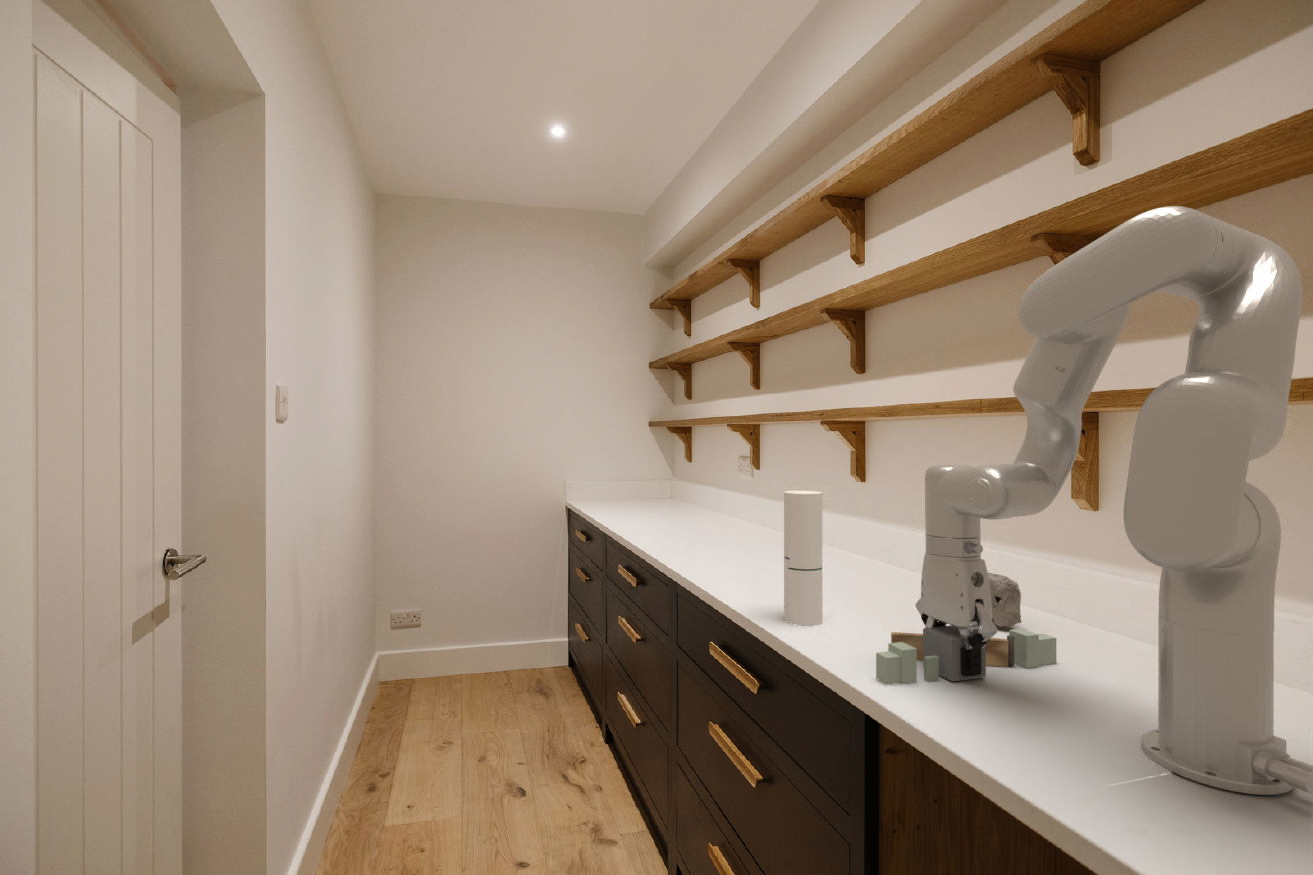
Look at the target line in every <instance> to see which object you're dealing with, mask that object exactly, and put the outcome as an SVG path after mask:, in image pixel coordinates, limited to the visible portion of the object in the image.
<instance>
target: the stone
mask: <svg viewBox="0 0 1313 875" xmlns="http://www.w3.org/2000/svg"><path fill="white" fill-rule="evenodd" d="M988 577H989V583H990V591H991V603H992V620H994V621H993V623H994V624H995V626H999V627H1009V626H1010V627H1011V626H1012V627H1014V626H1015V625H1017V624H1021V623H1022V615H1021V602H1022V601H1021V600H1022V594H1021V593H1022V592H1021V590H1020V587H1019V586H1020V585H1019V584H1018V583H1017V581H1014V580H1013V579H1011V578H1010V577H1008V576H1006V575H1002V574H999V573H992V572H988Z"/></svg>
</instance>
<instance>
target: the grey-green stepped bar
mask: <svg viewBox="0 0 1313 875" xmlns="http://www.w3.org/2000/svg"><path fill="white" fill-rule="evenodd" d="M1008 631H1009V635H1011V636H1014V665H1017V666H1019V667H1022V668H1024V669H1033V668H1039V666H1047V665H1055V664H1057V637H1055V636H1051V635H1049V634H1047V633H1035V632H1032V631H1029V630H1026V629H1023V628H1016V629H1009V630H1008ZM887 644H888V647H887V650H888V651H880V652H875V654H876V655H875V673H876V674H875V678H877V679H879V680H880V681H879V680H878V681H879V682H881V683H882V682H884V683H885V684H884V683H883V684H884V685H886V684H890V685H894V684H893V683H899V684H901V683H902V684H901V685H908V684H916V683H918V680H917V679H918V676H917V674H918V673H917V672H918V671H917V668H918V665H917V664H918V663H917V662H918V660H917V649H916V648H914V647H912V646H910V645H908V644H905V643H903V642H897V643H891V642H890V643H887ZM877 679H876V680H877ZM923 681H925V682H927V683H928V682H938V681H940V676H939V657H938V656H936V655H935V656H926V657H924V667H923Z"/></svg>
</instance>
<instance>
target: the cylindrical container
mask: <svg viewBox="0 0 1313 875" xmlns="http://www.w3.org/2000/svg"><path fill="white" fill-rule="evenodd" d="M783 556H784V557H783V603H784V604H783V610H784V611H783V614H784V615H783V620H784V622H785V621H787V622H788V623H787V622H786V623H787V624H789V623H792V624H791V625H793V624H797V625H796V626H798V625H801V626H800V627H815V626H814V625H817V626H820V625H822V624H823V492H822V491H817V490H816V491H815V490H787V491H784V492H783Z"/></svg>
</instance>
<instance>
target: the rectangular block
mask: <svg viewBox="0 0 1313 875" xmlns="http://www.w3.org/2000/svg"><path fill="white" fill-rule="evenodd" d="M922 634H923V668H924V657H926V656H935V655H936V656H938V657H939V677H942V678H944V679H945V680H948V681H950V682H959V681H967V680H972V679H981V678H986V677H987V674H986V673H987V670H986V668H987V667H986V656H985V647H984V648H981V670H982V672H981V674H980V675H975V676H968V677H965V676H962V675H961V648H964V645H963V641H962V638H961V634H960V631H959V628H958V627H955V626H952V625H946V626H942V627H933V628H925V627H924V628H922ZM969 634H970V638H972V637H973V636H974V635H973V632H972V630H971V631H969Z"/></svg>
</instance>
